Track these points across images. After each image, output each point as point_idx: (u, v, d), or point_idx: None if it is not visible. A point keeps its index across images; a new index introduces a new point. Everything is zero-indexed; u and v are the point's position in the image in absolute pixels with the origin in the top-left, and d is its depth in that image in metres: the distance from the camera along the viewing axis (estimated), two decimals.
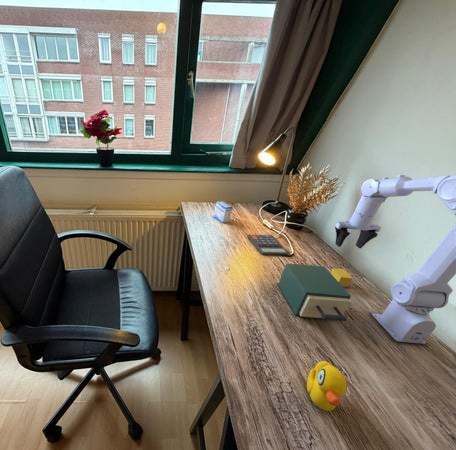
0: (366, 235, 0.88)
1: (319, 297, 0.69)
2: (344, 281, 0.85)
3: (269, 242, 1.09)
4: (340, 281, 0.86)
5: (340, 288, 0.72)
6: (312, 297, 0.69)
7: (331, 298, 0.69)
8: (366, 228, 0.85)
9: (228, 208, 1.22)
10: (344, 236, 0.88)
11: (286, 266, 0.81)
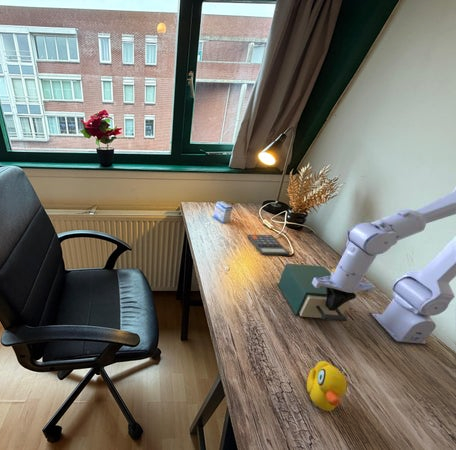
0: None
1: (319, 297, 0.69)
2: None
3: (269, 242, 1.09)
4: None
5: None
6: (312, 297, 0.69)
7: None
8: (353, 290, 0.61)
9: (228, 208, 1.22)
10: (337, 299, 0.64)
11: (286, 266, 0.81)
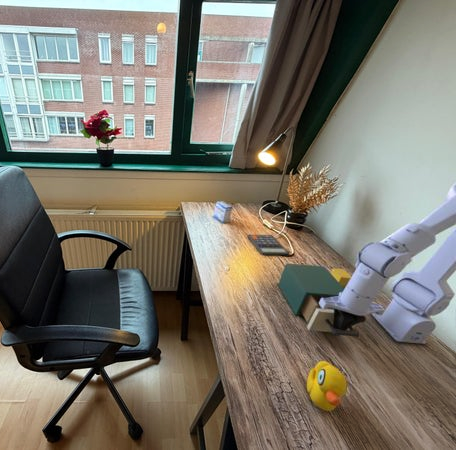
0: None
1: (329, 310, 0.65)
2: (344, 281, 0.85)
3: (269, 242, 1.09)
4: (340, 281, 0.86)
5: (340, 288, 0.72)
6: (321, 310, 0.65)
7: None
8: (363, 313, 0.57)
9: (228, 208, 1.22)
10: (346, 322, 0.60)
11: (286, 266, 0.81)
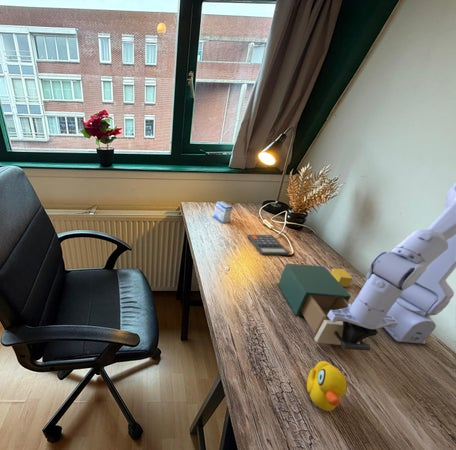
0: None
1: (338, 322, 0.61)
2: (344, 281, 0.85)
3: (269, 242, 1.09)
4: (340, 281, 0.86)
5: (340, 288, 0.72)
6: (330, 322, 0.61)
7: None
8: (376, 326, 0.54)
9: (228, 208, 1.22)
10: (356, 335, 0.57)
11: (286, 266, 0.81)
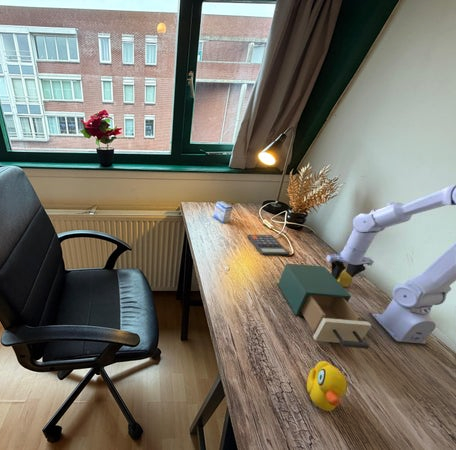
0: (354, 268, 0.85)
1: (336, 320, 0.62)
2: (344, 281, 0.85)
3: (269, 242, 1.09)
4: (340, 281, 0.86)
5: (340, 288, 0.72)
6: (329, 320, 0.62)
7: (350, 322, 0.62)
8: (358, 263, 0.81)
9: (228, 208, 1.22)
10: (340, 270, 0.84)
11: (286, 266, 0.81)
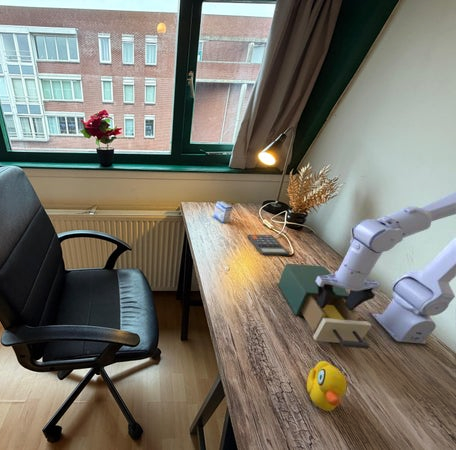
0: (359, 295, 0.63)
1: (336, 320, 0.62)
2: None
3: (269, 242, 1.09)
4: None
5: (340, 288, 0.72)
6: (329, 320, 0.62)
7: (350, 322, 0.62)
8: (358, 288, 0.60)
9: (228, 208, 1.22)
10: (328, 297, 0.63)
11: (286, 266, 0.81)
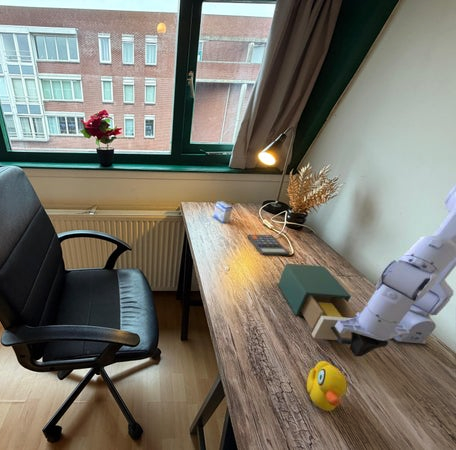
0: None
1: (334, 318, 0.62)
2: None
3: (269, 242, 1.09)
4: None
5: (340, 288, 0.72)
6: (327, 318, 0.62)
7: None
8: (386, 337, 0.52)
9: (228, 208, 1.22)
10: (366, 346, 0.54)
11: (286, 266, 0.81)
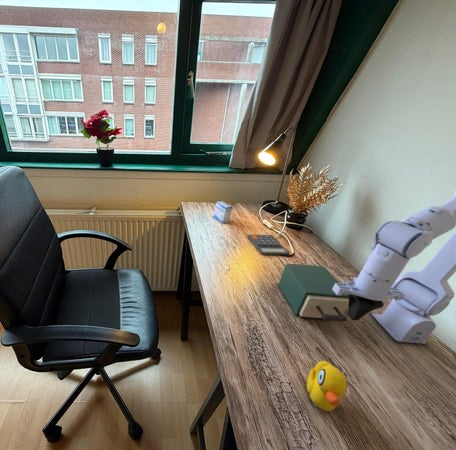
0: None
1: (319, 297, 0.69)
2: None
3: (269, 242, 1.09)
4: None
5: None
6: (312, 297, 0.69)
7: (331, 298, 0.69)
8: (382, 298, 0.53)
9: (228, 208, 1.22)
10: (362, 308, 0.56)
11: (286, 266, 0.81)
